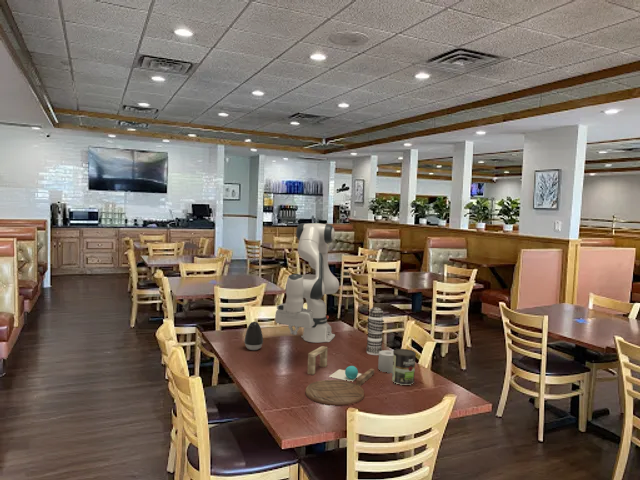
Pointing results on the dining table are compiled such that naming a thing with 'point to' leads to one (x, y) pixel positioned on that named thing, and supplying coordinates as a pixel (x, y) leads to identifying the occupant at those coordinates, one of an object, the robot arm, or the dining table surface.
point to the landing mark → (342, 375)
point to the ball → (351, 372)
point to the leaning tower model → (375, 331)
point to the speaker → (253, 336)
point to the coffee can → (403, 366)
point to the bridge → (312, 358)
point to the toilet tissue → (385, 361)
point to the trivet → (334, 392)
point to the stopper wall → (364, 377)
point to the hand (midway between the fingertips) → (293, 334)
